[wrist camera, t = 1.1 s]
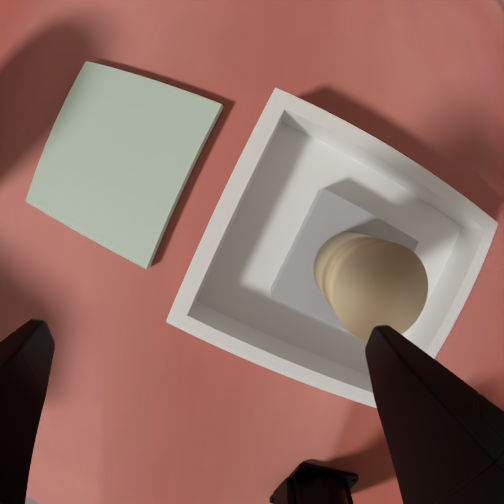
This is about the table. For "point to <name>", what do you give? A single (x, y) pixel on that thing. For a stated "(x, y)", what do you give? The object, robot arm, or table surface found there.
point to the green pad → (121, 158)
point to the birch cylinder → (371, 282)
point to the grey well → (313, 237)
